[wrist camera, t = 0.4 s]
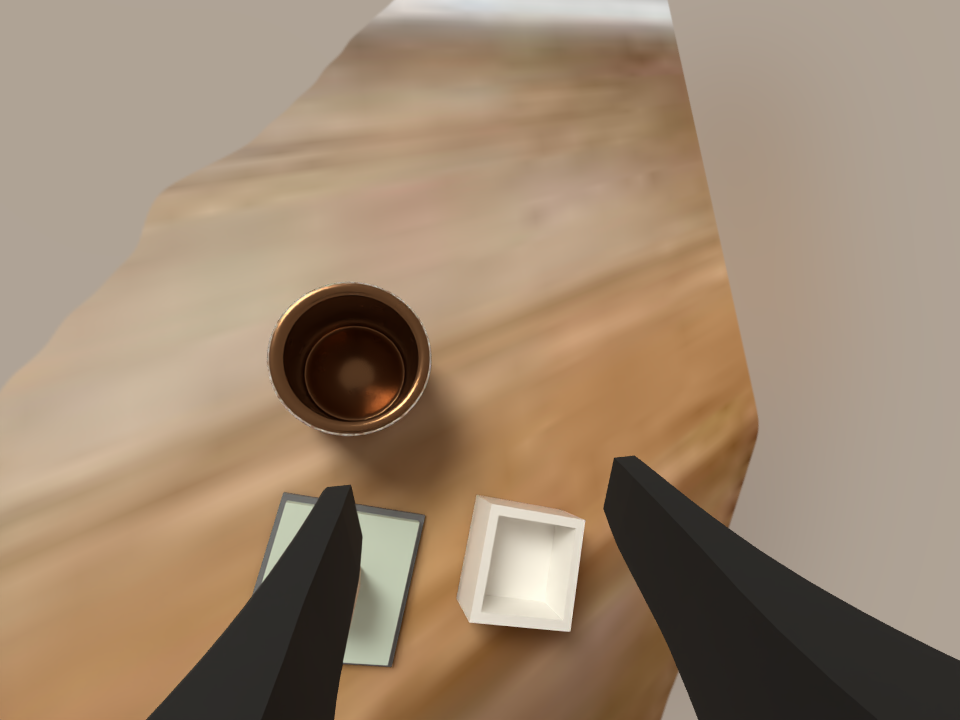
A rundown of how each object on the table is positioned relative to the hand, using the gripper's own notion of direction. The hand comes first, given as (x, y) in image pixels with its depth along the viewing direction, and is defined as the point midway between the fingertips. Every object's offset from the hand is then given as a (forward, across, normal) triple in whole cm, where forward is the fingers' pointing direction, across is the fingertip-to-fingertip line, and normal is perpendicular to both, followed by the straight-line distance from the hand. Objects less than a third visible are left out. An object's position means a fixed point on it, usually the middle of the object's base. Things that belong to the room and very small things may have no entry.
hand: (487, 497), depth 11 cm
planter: (+24, +8, +10) cm, 28 cm away
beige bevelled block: (+16, -5, +25) cm, 30 cm away
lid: (+13, +10, +23) cm, 28 cm away
